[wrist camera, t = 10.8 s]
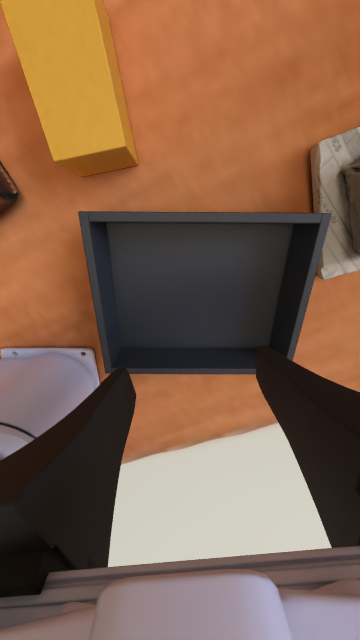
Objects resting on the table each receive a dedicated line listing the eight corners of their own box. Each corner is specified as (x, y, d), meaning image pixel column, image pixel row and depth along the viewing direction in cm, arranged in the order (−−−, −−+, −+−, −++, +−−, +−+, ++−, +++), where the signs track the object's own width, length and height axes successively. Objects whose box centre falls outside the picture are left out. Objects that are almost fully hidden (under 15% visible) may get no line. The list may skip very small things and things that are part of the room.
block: (82, 177, 16) (53, 161, 12) (38, 32, 13) (-18, -46, 9) (138, 165, 16) (126, 146, 12) (107, 14, 13) (78, -74, 9)
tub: (117, 349, 22) (105, 373, 18) (99, 214, 17) (77, 211, 13) (271, 350, 22) (289, 374, 18) (299, 216, 17) (332, 213, 13)
